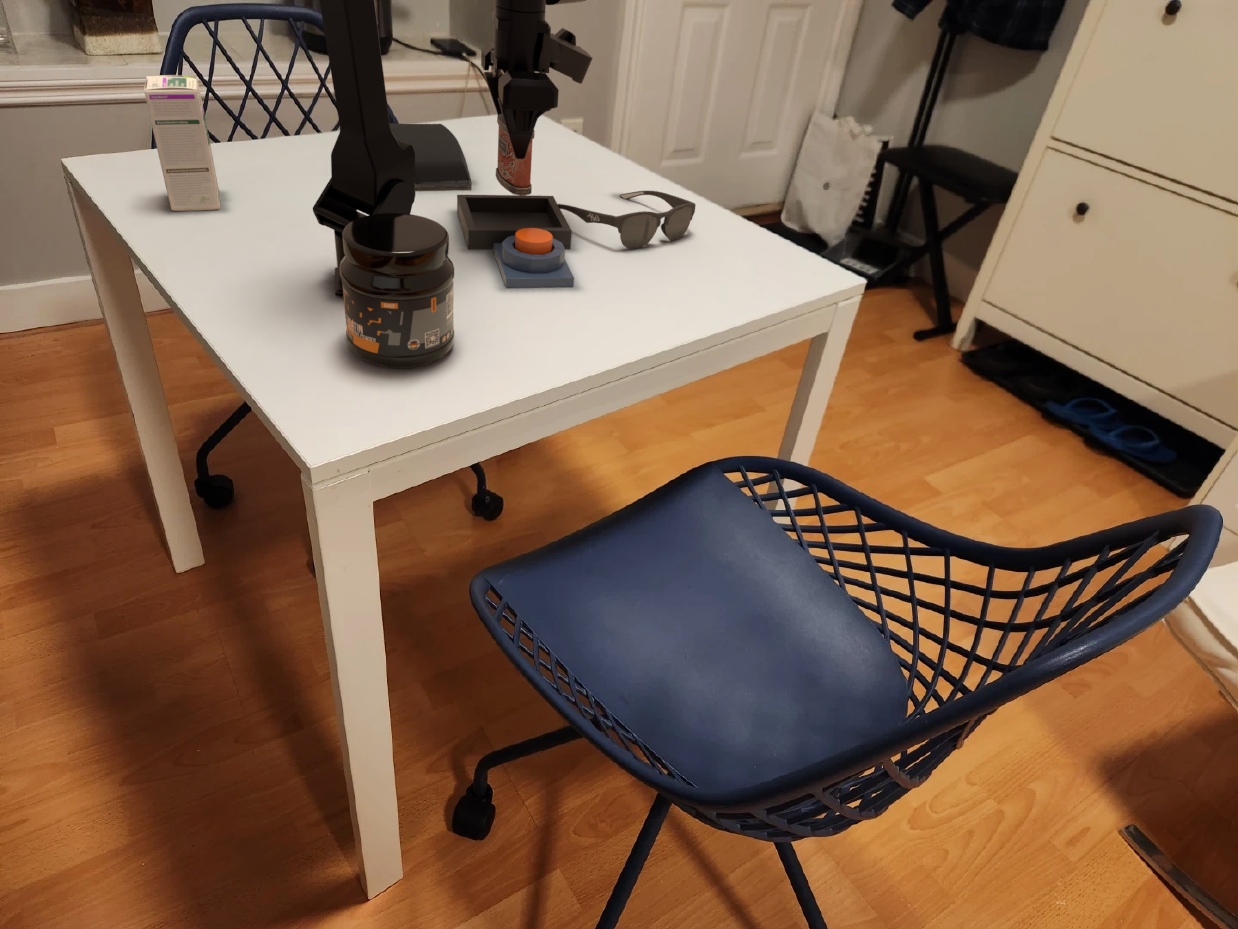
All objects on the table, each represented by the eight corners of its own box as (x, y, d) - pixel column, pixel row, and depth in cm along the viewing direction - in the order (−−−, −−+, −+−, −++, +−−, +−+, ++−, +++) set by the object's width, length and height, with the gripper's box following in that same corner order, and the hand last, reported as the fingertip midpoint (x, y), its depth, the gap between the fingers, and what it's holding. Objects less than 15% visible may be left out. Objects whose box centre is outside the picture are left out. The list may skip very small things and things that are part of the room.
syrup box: (221, 209, 108) (200, 87, 99) (169, 211, 106) (142, 87, 97) (219, 193, 112) (199, 74, 103) (169, 194, 110) (144, 73, 101)
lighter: (490, 173, 111) (492, 92, 105) (515, 172, 113) (518, 92, 107) (511, 195, 106) (514, 111, 100) (537, 194, 107) (541, 111, 101)
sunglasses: (614, 256, 109) (617, 217, 107) (537, 223, 120) (537, 186, 117) (705, 237, 119) (710, 201, 116) (626, 208, 129) (628, 173, 127)
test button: (555, 256, 101) (556, 242, 100) (518, 256, 100) (518, 242, 99) (548, 241, 105) (548, 227, 104) (512, 241, 104) (512, 227, 103)
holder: (570, 249, 110) (572, 230, 109) (468, 249, 107) (468, 230, 105) (552, 213, 119) (553, 195, 118) (457, 212, 116) (457, 194, 114)
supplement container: (331, 331, 87) (320, 217, 80) (429, 313, 92) (426, 204, 85) (369, 382, 80) (360, 262, 73) (472, 360, 86) (473, 246, 79)
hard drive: (383, 190, 119) (381, 161, 116) (366, 145, 133) (365, 118, 131) (477, 189, 123) (477, 160, 121) (451, 145, 137) (451, 119, 135)
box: (573, 287, 101) (575, 263, 100) (505, 288, 99) (506, 263, 97) (556, 251, 109) (558, 229, 107) (493, 252, 107) (493, 228, 105)
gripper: (609, 30, 92) (595, 175, 102) (571, -3, 107) (562, 127, 116) (506, 22, 89) (501, 172, 99) (481, -10, 104) (479, 124, 113)
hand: (514, 147), depth 107 cm, fingers closed on lighter, 8 cm apart
